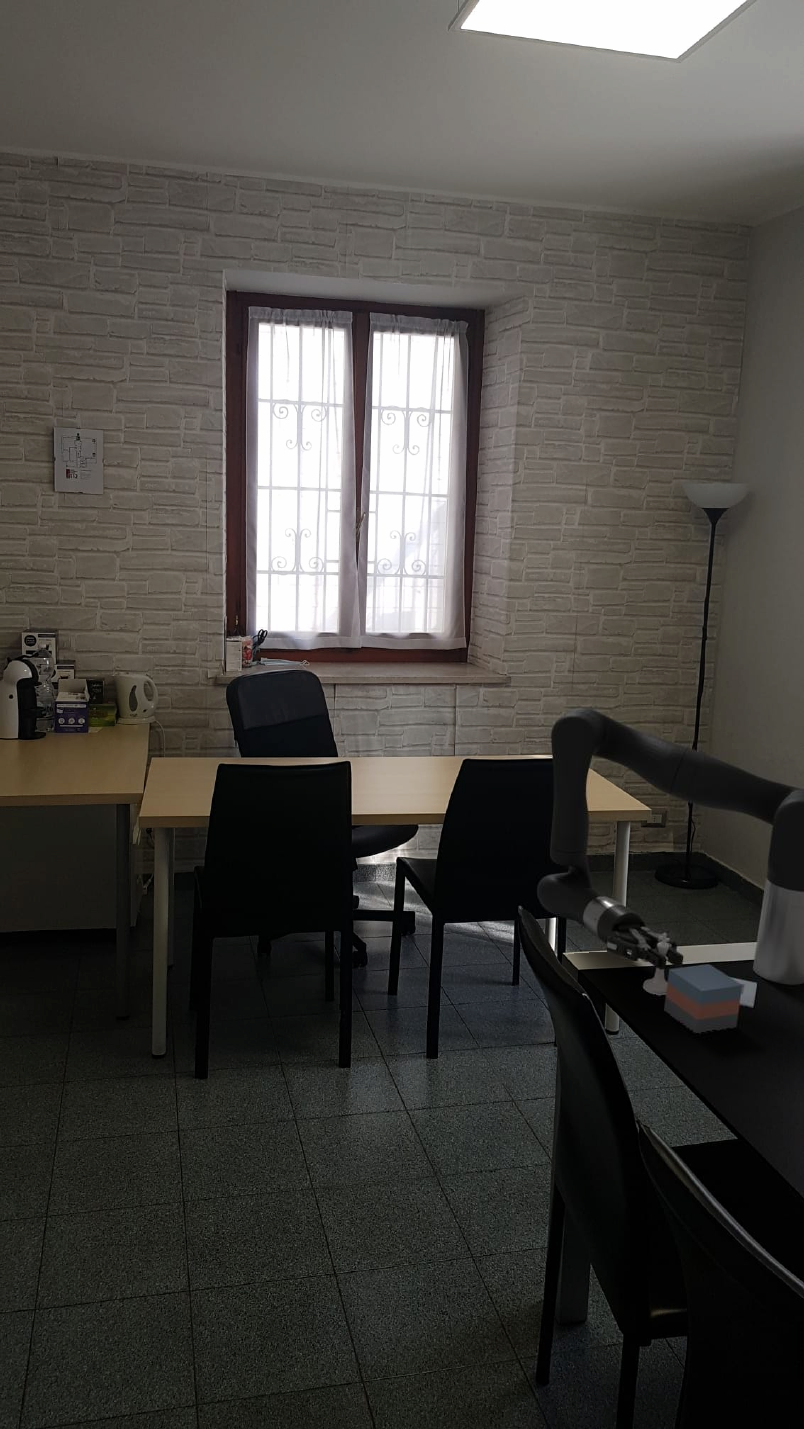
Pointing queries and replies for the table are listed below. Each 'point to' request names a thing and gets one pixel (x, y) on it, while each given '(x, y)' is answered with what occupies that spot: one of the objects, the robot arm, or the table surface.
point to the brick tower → (702, 998)
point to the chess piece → (658, 972)
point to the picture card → (747, 992)
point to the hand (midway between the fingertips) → (672, 962)
